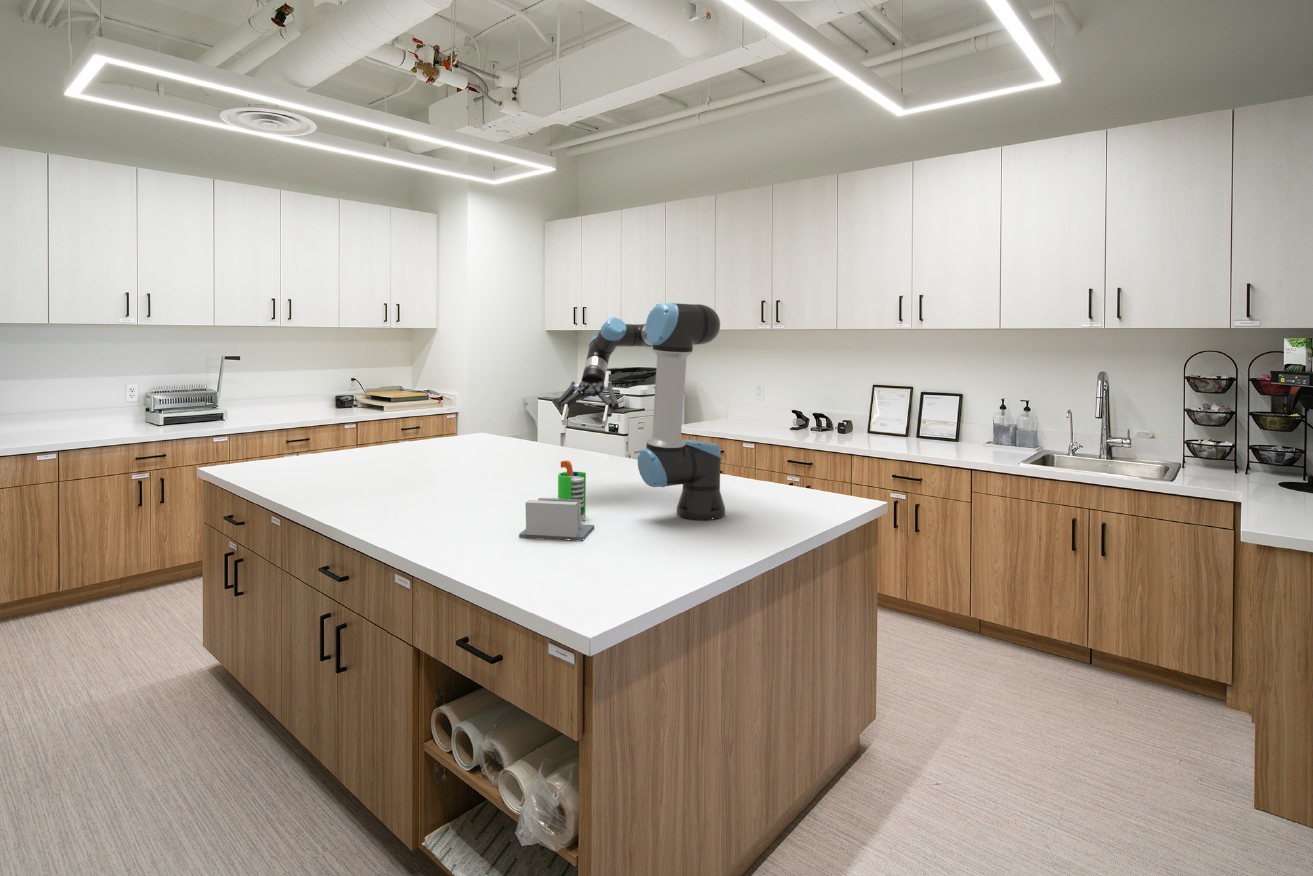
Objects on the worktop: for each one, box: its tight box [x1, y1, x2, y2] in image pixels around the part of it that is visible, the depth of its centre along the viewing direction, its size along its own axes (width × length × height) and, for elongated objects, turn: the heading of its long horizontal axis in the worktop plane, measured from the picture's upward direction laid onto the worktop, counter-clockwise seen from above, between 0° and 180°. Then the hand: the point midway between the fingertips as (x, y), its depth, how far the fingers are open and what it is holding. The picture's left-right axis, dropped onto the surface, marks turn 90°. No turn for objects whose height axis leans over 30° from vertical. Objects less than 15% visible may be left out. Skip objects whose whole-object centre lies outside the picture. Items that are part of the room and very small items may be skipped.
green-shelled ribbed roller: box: [557, 460, 587, 523], centre depth 211 cm, size 9×8×18 cm
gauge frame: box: [518, 499, 595, 542], centre depth 197 cm, size 18×13×10 cm
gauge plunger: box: [537, 497, 582, 528], centre depth 198 cm, size 15×4×8 cm, turn 82°
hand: (583, 423), depth 224 cm, fingers open, 13 cm apart
